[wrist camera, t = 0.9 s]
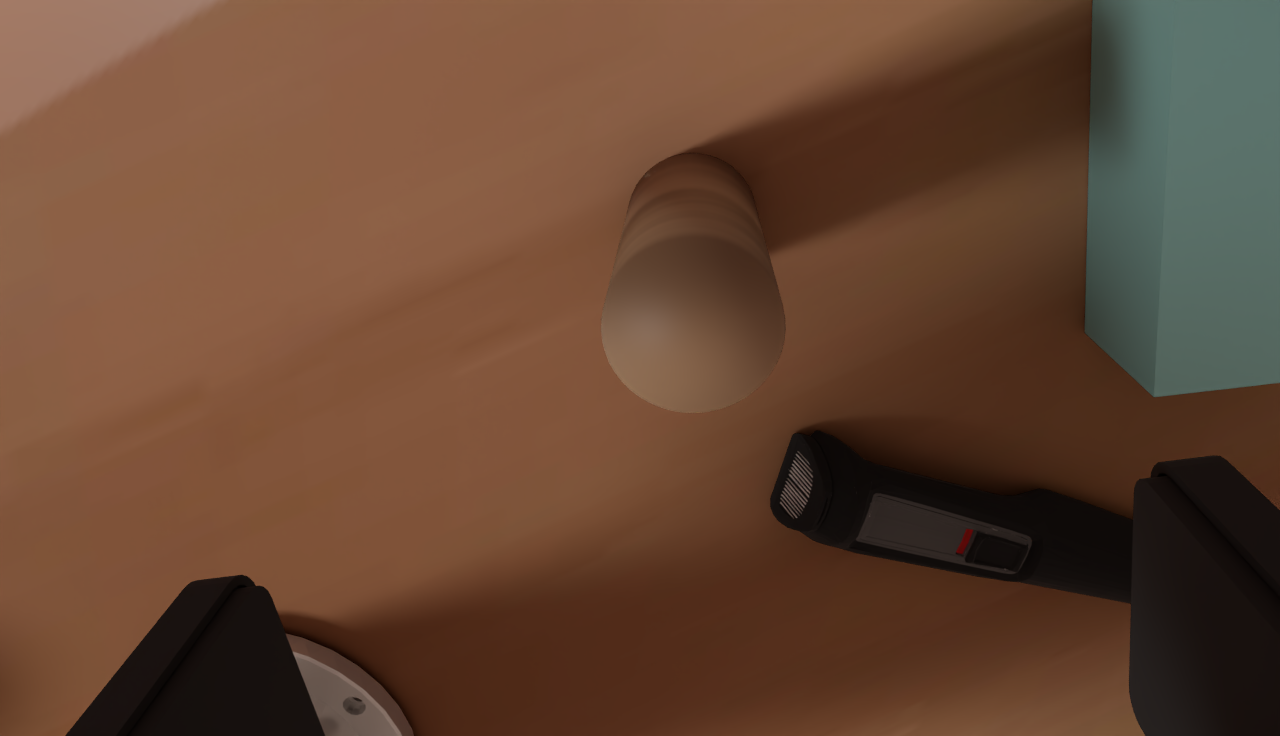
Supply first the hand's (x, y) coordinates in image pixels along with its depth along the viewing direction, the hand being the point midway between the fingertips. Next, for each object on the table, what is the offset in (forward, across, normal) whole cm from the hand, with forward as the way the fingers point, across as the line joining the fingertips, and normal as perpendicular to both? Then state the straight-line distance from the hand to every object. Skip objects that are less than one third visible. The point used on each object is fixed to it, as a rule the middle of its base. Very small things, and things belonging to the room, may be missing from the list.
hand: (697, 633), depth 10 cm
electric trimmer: (+22, -8, +13) cm, 27 cm away
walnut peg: (+21, 0, +1) cm, 21 cm away
